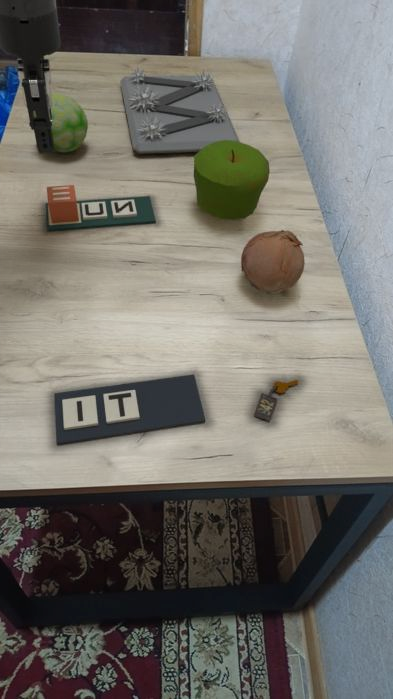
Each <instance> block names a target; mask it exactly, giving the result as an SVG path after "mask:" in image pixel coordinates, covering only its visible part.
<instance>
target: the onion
mask: <svg viewBox="0 0 393 699" xmlns="http://www.w3.org/2000/svg"><path fill="white" fill-rule="evenodd" d="M301 246H304V245H303V243H302V241H300V240H299V238H298V237H297V235H295V233H294V232H293V231H291V230H283V229H281V230H278V231H277V230H272V231H270V230H269V231H264V232H260V233H257V234H255V235H254V236H253V237H252V238H250V239H248V241H247V243H246V244H245V246H244V247H243V249H242V253H241V257H240V260H241V261H240V268H241V272H243V275H244V278H246V279H247V281H248V282H249V283H250V286H251V287H252V288H255V289H256V290H259V291H261V292H263V293H266V294H267V295H269V294H275V295H279V294H280V293H281V292H284V291H287V290H288V289H290V288H293V287H294V286H295V285H296V284H297V282H299V280H300V278H301V277H302V275H303V272H304V269H305V265H306V264H305V254H304V251H303V248H302V247H301Z"/></svg>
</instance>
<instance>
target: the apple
mask: <svg viewBox="0 0 393 699" xmlns="http://www.w3.org/2000/svg"><path fill="white" fill-rule="evenodd" d="M239 141H240V140H239ZM239 141H232V140H223V141H217V142H214V143H212V144H209V145H207V146H205V147H204V148H203V149H201V150H200V151H199V152H196V154H195V155H194V156H193V180H194V184H195V186H194V187H195V191H196V204H197V205H198V207H199V208H200V209H201V210H202V211H203V212H204V213H206V214H208V215H210V216H213V217H215V218H219V219H222V220H232V221H233V220H234V221H235V220H241V219H243V220H244V219H246V218H248V217H249V216H251V215H253V214H254V212H255V211H256V209H257V206H258V203H259V201H260V198H261V195H262V193H263V190H264V189H265V187H266V186H267V183H268V182H269V178H270V162H269V160H268V159H267V158H266V156H265V155H264V154H263V153H262V152H261V151H260V150H259V149H258V148H255V147H253V146H252V145H250V144H247V143H244V142H241V141H240V142H239Z"/></svg>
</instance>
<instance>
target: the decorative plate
mask: <svg viewBox="0 0 393 699" xmlns="http://www.w3.org/2000/svg"><path fill="white" fill-rule="evenodd" d="M136 66H137V67H136V68H135V67H133V70H132V69H130V71H131V72H129V75H124V76H123V78H121V80H120V81H119V82H120V86H121V92H122V98H123V103H124V109H125V114H126V118H127V123H128V128H129V134H130V139H131V144H132V149H133V151H135V152H136V153H137V154H138V155H145V154H147V155H148V154H173V153H174V154H176V153H178V154H179V153H198V152H199V151H200V150H201V149H203V148H204V147H205V146H207V145H209V144H212V143H214V142H217V141H223V140H232V141H239V142H241V141H240V139H239V136H238V134H237V132H236V130H235V127H234V125H233V123H232V120H231V118H230V116H229V114H228V112H229V111H227V107H225V103H224V102H223V99H222V97H221V95H220V93H219V90H218V88H217V85H216V84H215V80H214V77H215V75H214V76H210V75H211V73H210V72H208V71H205V70H202V72H200V71H198V72H197V73H198V74H197V73H196V72H194V73H195V75H147V72H144V71H145V69H142V68H140V69H139V67H138V65H136Z"/></svg>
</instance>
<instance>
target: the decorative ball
mask: <svg viewBox="0 0 393 699" xmlns="http://www.w3.org/2000/svg"><path fill="white" fill-rule="evenodd" d="M51 97H52V107H51V114H52V126H51V130H52V136H53V142H54V152H59V153H70V152H73V151H75V150H77V149H78V148H79V147H80V146H81V145H82V144H83V143H84V141H85V139H86V137H87V134H88V128H89V122H88V118H87V115H86V113H85V111H84V109H83V108H82V106H81V105H80V104H79V103H78V102H77V101H76V100H75V99H74V98H72V97H70V96H68V95H65V94H62V93H51ZM34 115H35V117H36V113H35V111H34Z"/></svg>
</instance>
